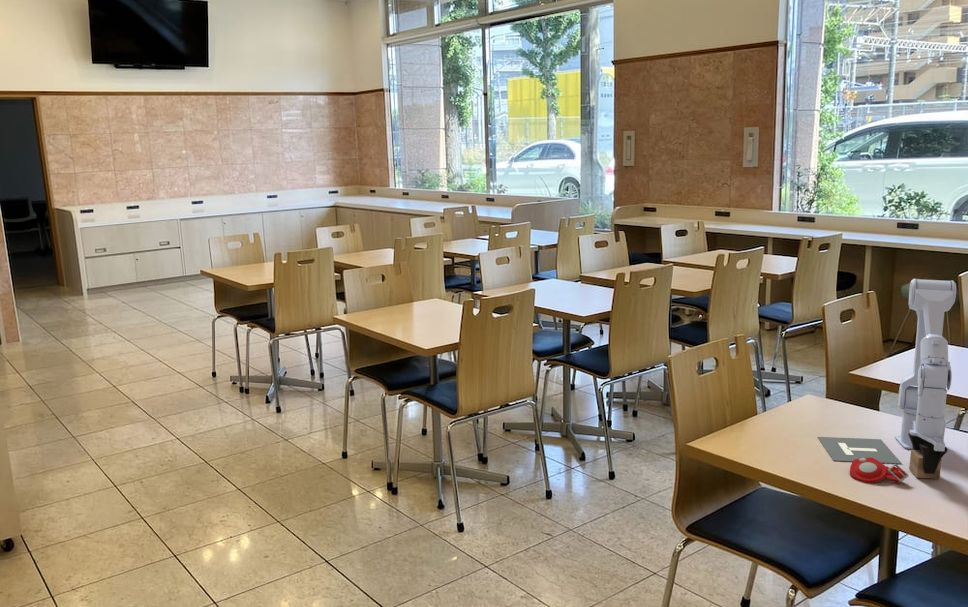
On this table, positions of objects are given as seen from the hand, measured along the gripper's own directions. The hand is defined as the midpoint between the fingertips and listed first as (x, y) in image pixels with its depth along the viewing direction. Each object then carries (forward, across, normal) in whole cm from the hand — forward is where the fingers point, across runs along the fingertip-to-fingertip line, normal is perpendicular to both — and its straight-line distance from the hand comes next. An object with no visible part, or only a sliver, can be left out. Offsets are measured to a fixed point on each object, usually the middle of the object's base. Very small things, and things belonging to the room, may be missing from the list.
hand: (924, 468), depth 191 cm
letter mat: (+2, -14, -11) cm, 18 cm away
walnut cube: (+1, 0, 0) cm, 1 cm away
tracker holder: (+2, +3, -12) cm, 12 cm away
